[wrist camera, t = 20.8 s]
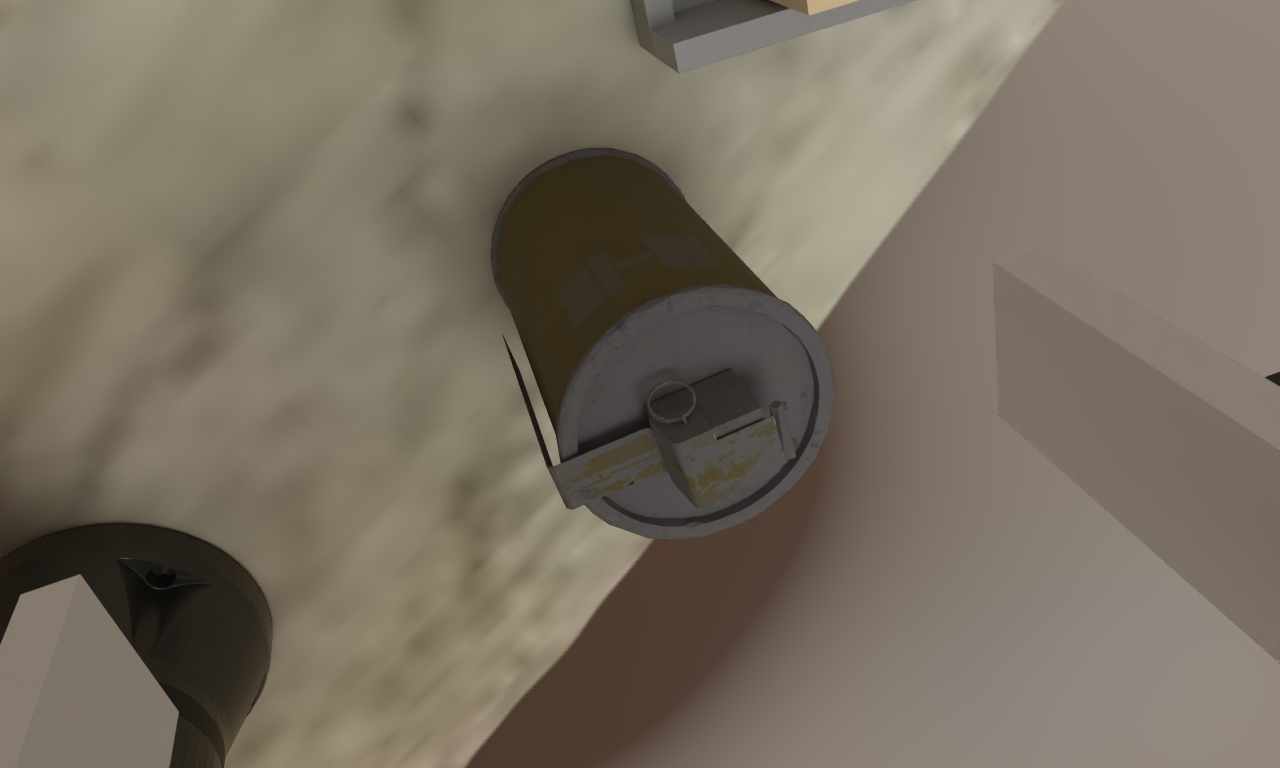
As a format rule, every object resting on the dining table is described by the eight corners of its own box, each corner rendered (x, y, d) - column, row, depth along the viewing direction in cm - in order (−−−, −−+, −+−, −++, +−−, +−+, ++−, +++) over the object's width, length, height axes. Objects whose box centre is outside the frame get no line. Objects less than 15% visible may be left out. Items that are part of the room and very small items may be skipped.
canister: (658, 114, 48) (836, 270, 31) (715, 295, 53) (892, 511, 36) (448, 201, 47) (513, 409, 30) (528, 375, 53) (620, 633, 36)
